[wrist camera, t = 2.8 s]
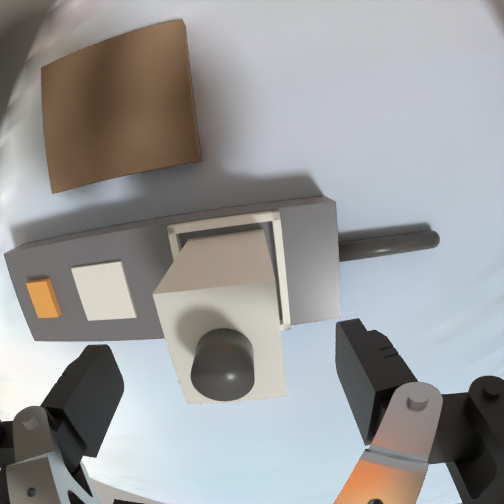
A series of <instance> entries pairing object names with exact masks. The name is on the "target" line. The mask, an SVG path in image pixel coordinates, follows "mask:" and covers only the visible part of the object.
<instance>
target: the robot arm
mask: <svg viewBox="0 0 504 504" xmlns="http://www.w3.org/2000/svg"><path fill="white" fill-rule="evenodd" d="M335 361H336V369H337V374H338V377H339V379H340V382H341V384H342V387H343V389H344V392H345V394H346V397H347V400H348V402H349V405H350V407H351V410H352V412H353V415H354V418H355V420H356V423H357V425H358V428H359V431H360V433H361V436H362V439H363V441H364V444H365V446H366V445H370V444H371V445H370V447H369V449H365V451H364V452H363V454H362V455H361V457H360V459H359V461H358V463H357V464H356V466H355V468H354V470H353V472H352V473H351V475H350V477H349V479H348V480H347V482H346V484H345V486H344V487H343V489H342V491H341V492H340V494H339V496H338V497H337V499H336V500H335V502H334V504H415V503H416V501H417V498H418V496H419V493H420V490H421V488H422V485H423V482H424V479H425V476H426V473H427V470H428V466H429V464H437V463H446V465H447V467H448V470H449V472H450V474H451V476H452V479H453V481H454V483H455V485H456V488H457V490H458V493H459V495H460V497H461V500H462V502H463V504H504V380H503V379H501V378H499V377H495V376H483V377H479V378H477V379H476V380H474V381H473V382H472V384H471V386H470V388H469V391H468V392H466V393H456V394H441V393H440V391H439V390H438V389H437V388H436V387H434V386H432V385H431V384H428V383H424V382H418V381H417V379H416V378H415V376H414V375H413V373H412V372H411V370H410V369H409V367H408V366H407V365H406V363H405V362H404V360H403V359H402V357H401V356H400V355H399V354H398V352H397V350H396V349H395V348H393V345H392V343H391V342H390V341H389V339H388V338H387V336H385V335H383V334H382V333H380V332H378V331H376V330H371V331H367V330H366V328H365V327H364V325H363V324H362V322H361V321H360V319H358V318H357V319H352V320H346V321H341V322H337V323H336V355H335ZM123 392H124V381H123V377H122V375H121V373H120V370H119V368H118V366H117V363H116V361H115V358H114V356H113V353H112V351H111V349H110V347H109V346H108V345H106V344H104V345H88V346H87V347H86V348H85V349H84V351H83V352H82V353H81V355H80V356H79V358H77V359H76V360H74V361H73V362H72V363H71V364H69V365H68V366H67V368H66V369H65V371H64V372H63V373H62V376H60V378H59V379H58V381H57V383H55V385H54V386H53V388H52V389H51V391H50V392H49V394H48V395H47V397H46V398H45V400H44V401H43V403H42V404H41V406H30V407H27V408H25V409H23V410H21V411H20V412H19V413H18V414H17V415H16V416H15V418H14V420H13V421H4V422H1V420H0V468H1V470H0V504H101V503H100V501H99V499H98V497H97V495H96V492H95V490H94V488H93V486H92V483H91V480H90V478H89V476H88V473H87V470H86V468H85V466H84V464H83V463H82V461H81V459H82V457H83V456H88V457H94V458H96V457H97V454H98V452H99V449H100V447H101V444H102V442H103V439H104V437H105V435H106V432H107V430H108V427H109V425H110V423H111V420H112V418H113V416H114V413H115V411H116V409H117V406H118V404H119V402H120V399H121V397H122V395H123ZM113 504H143V503H135V502H128V501H123V500H117V499H114V503H113Z"/></svg>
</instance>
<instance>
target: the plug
mask: <svg viewBox="0 0 504 504" xmlns="http://www.w3.org/2000/svg"><path fill="white" fill-rule="evenodd" d="M153 298H154V301H155V305H156V309H157V312H158V316H159V319H160V323H161V326H162V330H163V333H164V336H165V340H166V343H167V346H168V349H169V353H170V356H171V359H172V362H173V365H174V368H175V371H176V374H177V377H178V380H179V383H180V386H181V389H182V391H183V394H184V397H185V400H186V403H187V404H203V403H221V402H235V401H246V400H257V399H266V398H274V397H282V396H287V392H286V381H285V371H284V360H283V350H282V340H281V330H280V320H279V311H278V301H277V292H276V283H275V277H274V273H273V268H272V264H271V260H270V255H269V251H268V247H267V242H266V238H265V234H264V230H263V229H259V230H251V231H244V232H236V233H228V234H221V235H214V236H206V237H199V238H192V239H188V241H187V242H186V244H185V245H184V247H183V248H182V250H181V251H180V253H179V254H178V256H177V257H176V259H175V260H174V262H173V263H172V265H171V266H170V268H169V269H168V271H167V272H166V274H165V276H164V277H163V279H162V280H161V282H160V283H159V285H158V286H157V288H156V290H155V291H154V293H153Z"/></svg>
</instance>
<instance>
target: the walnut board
mask: <svg viewBox="0 0 504 504" xmlns="http://www.w3.org/2000/svg"><path fill="white" fill-rule="evenodd" d="M41 86H42V112H43V126H44V137H45V147H46V156H47V163H48V170H49V177H50V183H51V189H52V194H54V193H58V192H62V191H65V190H69V189H73V188H76V187H80V186H84V185H88V184H92V183H96V182H100V181H104V180H108V179H112V178H117V177H121V176H125V175H130V174H134V173H139V172H144V171H149V170H154V169H159V168H164V167H169V166H174V165H180V164H186V163H191V162H197V161H202V158H201V151H200V144H199V136H198V129H197V121H196V113H195V106H194V98H193V89H192V81H191V72H190V64H189V55H188V45H187V35H186V26H185V24H184V22H183V20H182V19H180V20H175V21H171V22H167V23H162V24H158V25H154V26H151V27H147V28H143V29H140V30H136V31H133V32H130V33H126V34H123V35H120V36H117V37H114V38H111V39H108V40H105V41H102V42H100V43H97V44H94V45H92V46H89V47H87V48H84V49H81V50H79V51H77V52H74V53H72V54H69V55H67V56H65V57H63V58H60V59H58V60H56V61H54V62H52V63H50V64H48V65H46V66H43V67H41Z"/></svg>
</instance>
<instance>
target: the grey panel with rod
mask: <svg viewBox="0 0 504 504" xmlns="http://www.w3.org/2000/svg"><path fill="white" fill-rule="evenodd" d="M259 229H263V230H264V234H265V238H266V242H267V247H268V251H269V255H270V260H271V264H272V268H273V273H274V277H275V283H276V292H277V301H278V311H279V320H280V330H281V331H282V330H289V329H291V325H297V324H304V323H310V322H317V321H323V320H329V319H335V318H340V274H339V262H344V261H351V260H358V259H364V258H371V257H378V256H385V255H392V254H398V253H405V252H411V251H418V250H424V249H430V248H435V247H437V246H438V244H439V242H440V237H439V235H438V233H437V232H435V231H424V232H417V233H409V234H401V235H394V236H386V237H378V238H371V239H363V240H355V241H347V242H340V243H338V228H337V212H336V202H335V201H333V200H331V199H330V198H328V197H326V196H318V197H309V198H299V199H291V200H282V201H274V202H265V203H257V204H250V205H242V206H235V207H227V208H220V209H213V210H206V211H199V212H193V213H186V214H180V215H173V216H167V217H161V218H155V219H149V220H143V221H137V222H131V223H125V224H120V225H114V226H109V227H103V228H98V229H93V230H88V231H83V232H77V233H72V234H67V235H63V236H58V237H53V238H48V239H43V240H39V241H34V242H30V243H25V244H22V245H20V246H18V247H16V248H14V249H12V250H10V251H8V252H6V253H4V257H5V260H6V264H7V267H8V271H9V274H10V277H11V280H12V283H13V286H14V289H15V292H16V295H17V298H18V301H19V303H20V306H21V309H22V311H23V314H24V317H25V319H26V322H27V324H28V326H29V329H30V331H31V334H32V336H33V338H34V340H35V341H120V340H143V339H161V338H165V336H164V333H163V330H162V326H161V323H160V319H159V316H158V312H157V309H156V305H155V301H154V298H153V293H154V291H155V290H156V288H157V286H158V285H159V283H160V282H161V280H162V279H163V277H164V276H165V274H166V272H167V271H168V269H169V268H170V266H171V265H172V263H173V262H174V260H175V259H176V257H177V256H178V254H179V253H180V251H181V250H182V248H183V247H184V245H185V244H186V242H187V241H188V239H192V238H199V237H206V236H214V235H221V234H228V233H236V232H244V231H251V230H259Z"/></svg>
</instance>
